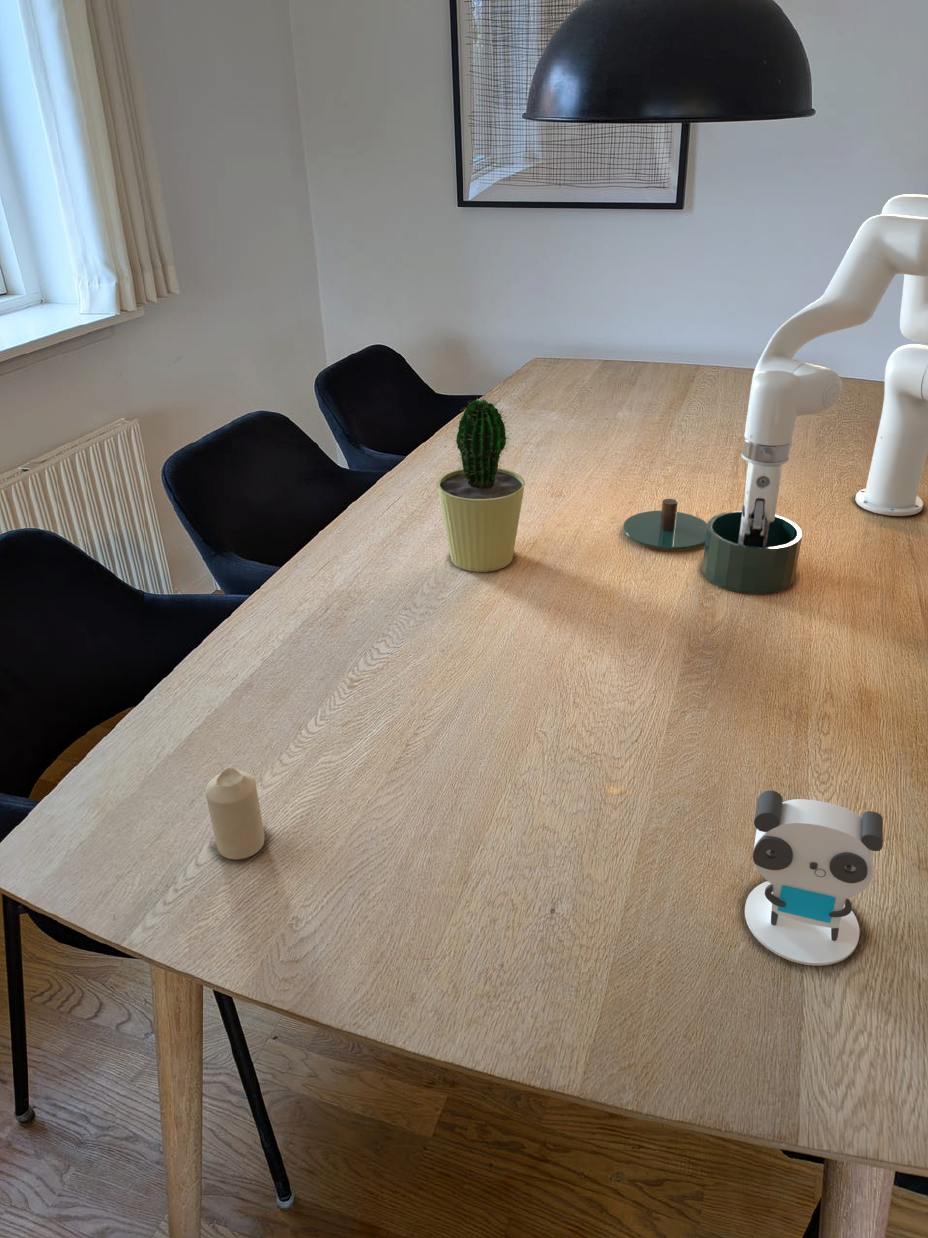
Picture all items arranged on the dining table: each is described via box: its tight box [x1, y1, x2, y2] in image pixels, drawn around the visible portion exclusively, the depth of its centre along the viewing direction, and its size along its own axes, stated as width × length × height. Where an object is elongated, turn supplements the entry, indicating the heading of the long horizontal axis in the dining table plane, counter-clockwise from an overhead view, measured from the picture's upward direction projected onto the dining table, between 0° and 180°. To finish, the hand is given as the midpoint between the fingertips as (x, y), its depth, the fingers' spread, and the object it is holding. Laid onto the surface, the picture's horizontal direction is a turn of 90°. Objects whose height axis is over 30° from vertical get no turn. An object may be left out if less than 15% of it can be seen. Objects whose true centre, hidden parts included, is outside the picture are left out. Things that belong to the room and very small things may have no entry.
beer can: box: [738, 500, 770, 547], centre depth 161 cm, size 5×5×12 cm
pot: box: [701, 510, 803, 595], centre depth 163 cm, size 16×16×8 cm
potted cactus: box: [436, 394, 526, 573], centre depth 164 cm, size 15×15×30 cm
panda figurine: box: [744, 790, 884, 967], centre depth 94 cm, size 12×11×15 cm
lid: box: [622, 498, 708, 551], centre depth 178 cm, size 17×17×7 cm
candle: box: [205, 767, 265, 861], centre depth 107 cm, size 6×6×10 cm
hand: (751, 548), depth 163 cm, fingers closed on beer can, 4 cm apart
